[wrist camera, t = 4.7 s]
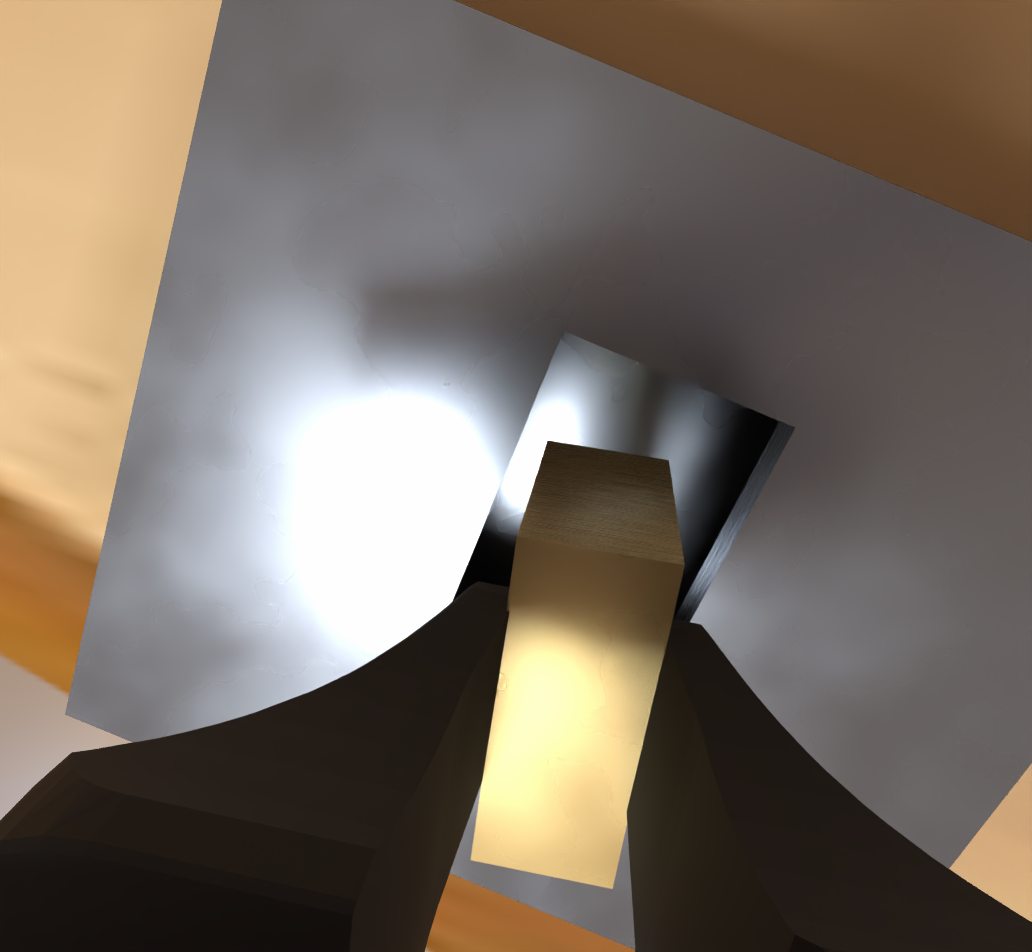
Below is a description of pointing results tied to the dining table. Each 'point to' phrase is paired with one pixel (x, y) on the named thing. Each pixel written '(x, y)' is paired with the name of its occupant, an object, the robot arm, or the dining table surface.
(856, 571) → the coin box
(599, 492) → the block
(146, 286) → the dining table surface
